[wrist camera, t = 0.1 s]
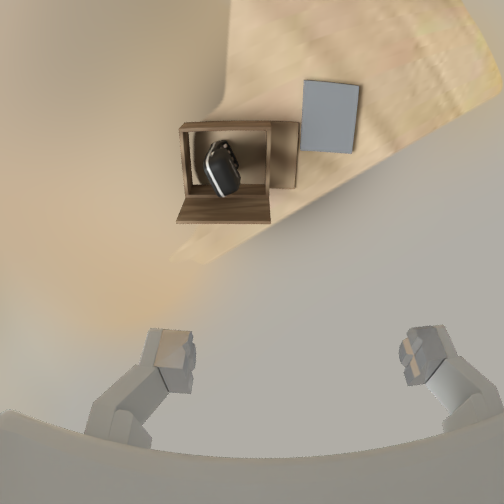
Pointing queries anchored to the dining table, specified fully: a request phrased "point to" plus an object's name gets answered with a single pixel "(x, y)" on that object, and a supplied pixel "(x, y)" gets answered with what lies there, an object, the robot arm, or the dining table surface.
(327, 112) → the mat
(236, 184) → the battery charger
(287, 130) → the wooden box
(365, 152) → the dining table surface
